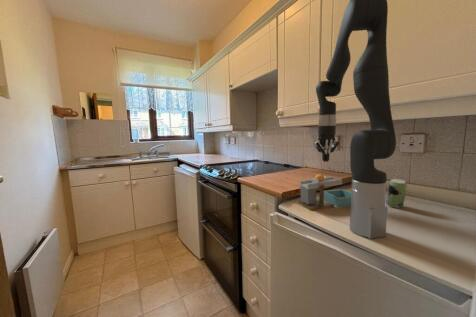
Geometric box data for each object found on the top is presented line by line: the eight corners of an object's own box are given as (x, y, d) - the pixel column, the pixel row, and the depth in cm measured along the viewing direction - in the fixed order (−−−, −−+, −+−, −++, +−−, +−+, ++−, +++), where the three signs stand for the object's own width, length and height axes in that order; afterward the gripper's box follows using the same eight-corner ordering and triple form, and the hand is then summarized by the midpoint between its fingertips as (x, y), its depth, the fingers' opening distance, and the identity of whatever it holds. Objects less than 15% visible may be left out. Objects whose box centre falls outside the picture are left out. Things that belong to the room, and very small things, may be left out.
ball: (327, 182, 89) (325, 173, 88) (319, 184, 88) (317, 176, 87) (321, 180, 93) (320, 172, 92) (313, 182, 92) (312, 174, 91)
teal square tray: (360, 204, 90) (361, 196, 89) (338, 207, 87) (339, 198, 87) (341, 196, 101) (342, 189, 101) (321, 199, 98) (322, 191, 98)
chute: (308, 205, 86) (308, 182, 85) (295, 196, 97) (294, 177, 96) (342, 199, 90) (342, 177, 89) (325, 192, 101) (325, 172, 100)
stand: (309, 210, 85) (310, 186, 84) (297, 202, 95) (298, 181, 93) (334, 207, 88) (335, 184, 86) (319, 199, 97) (320, 179, 96)
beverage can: (396, 203, 90) (399, 177, 88) (409, 210, 83) (411, 181, 81) (382, 203, 91) (383, 177, 89) (392, 209, 83) (395, 181, 82)
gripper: (319, 124, 89) (318, 163, 91) (344, 124, 92) (343, 161, 94) (309, 125, 96) (308, 161, 98) (333, 125, 99) (332, 159, 101)
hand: (325, 161), depth 96 cm, fingers closed
